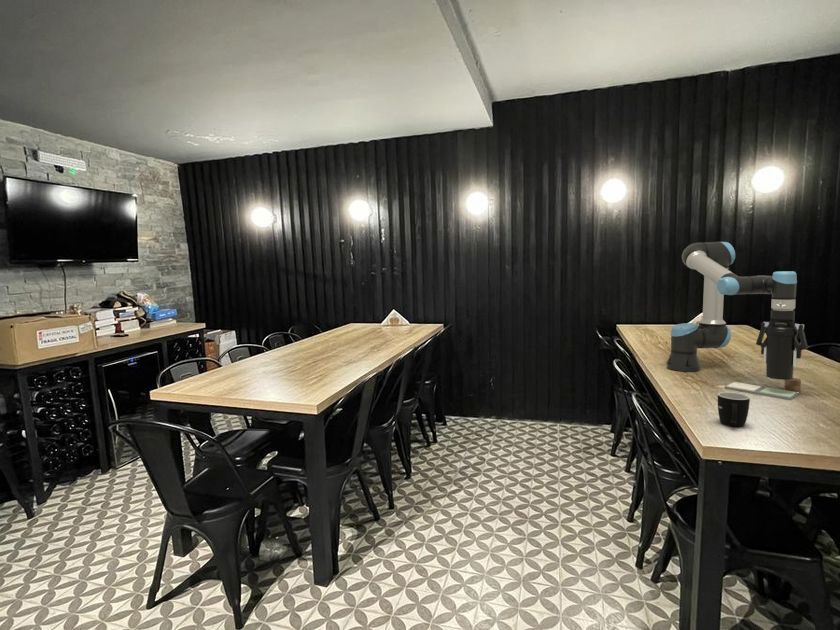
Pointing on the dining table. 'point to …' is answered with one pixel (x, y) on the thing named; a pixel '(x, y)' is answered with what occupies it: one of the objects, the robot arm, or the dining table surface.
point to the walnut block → (793, 385)
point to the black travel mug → (780, 351)
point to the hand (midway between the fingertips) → (780, 364)
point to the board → (762, 390)
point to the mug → (733, 408)
